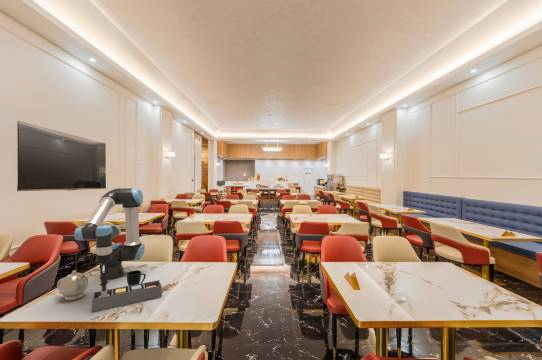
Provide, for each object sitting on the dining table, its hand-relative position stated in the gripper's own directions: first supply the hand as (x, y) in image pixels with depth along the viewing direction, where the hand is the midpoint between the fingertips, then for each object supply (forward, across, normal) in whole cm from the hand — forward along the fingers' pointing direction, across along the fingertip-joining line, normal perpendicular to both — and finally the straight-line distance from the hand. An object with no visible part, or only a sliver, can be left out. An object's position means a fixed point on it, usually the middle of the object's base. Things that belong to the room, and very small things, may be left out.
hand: (104, 295), depth 140 cm
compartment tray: (+6, 0, +12) cm, 13 cm away
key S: (+2, 0, +16) cm, 16 cm away
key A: (+4, 0, 0) cm, 4 cm away
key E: (+4, 0, +24) cm, 24 cm away
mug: (+6, -19, +17) cm, 26 cm away
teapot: (+6, -22, -17) cm, 28 cm away
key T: (+2, 0, +8) cm, 8 cm away
